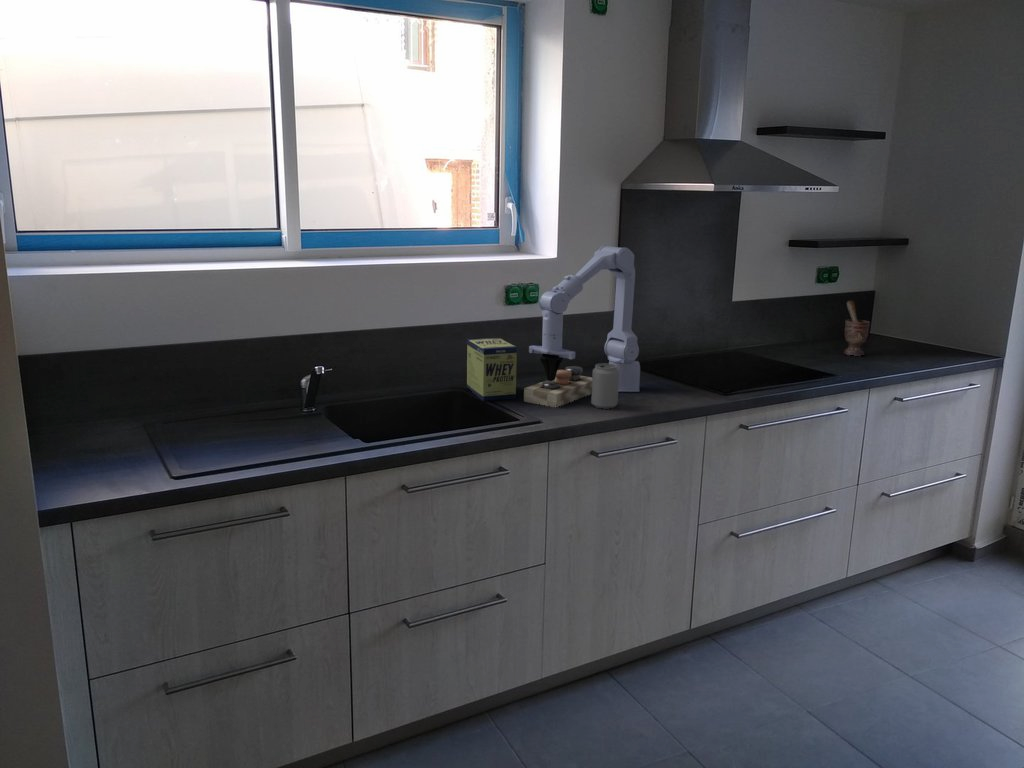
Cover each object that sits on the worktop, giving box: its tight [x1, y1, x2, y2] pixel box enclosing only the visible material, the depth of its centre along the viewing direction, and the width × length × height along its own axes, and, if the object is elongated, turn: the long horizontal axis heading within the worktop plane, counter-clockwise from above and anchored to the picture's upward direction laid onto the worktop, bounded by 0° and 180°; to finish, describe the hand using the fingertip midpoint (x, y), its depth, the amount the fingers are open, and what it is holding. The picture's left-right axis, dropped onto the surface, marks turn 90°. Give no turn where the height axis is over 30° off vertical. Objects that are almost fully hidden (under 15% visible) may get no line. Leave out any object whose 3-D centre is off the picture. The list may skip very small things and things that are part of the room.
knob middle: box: [555, 369, 572, 386], centre depth 244 cm, size 5×5×4 cm
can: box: [590, 362, 619, 410], centre depth 234 cm, size 8×8×12 cm
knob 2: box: [564, 365, 584, 382], centre depth 249 cm, size 5×5×4 cm
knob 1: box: [542, 380, 560, 390], centre depth 239 cm, size 5×5×4 cm
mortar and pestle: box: [843, 300, 871, 357], centre depth 313 cm, size 12×9×20 cm
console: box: [523, 375, 592, 409], centre depth 244 cm, size 24×11×4 cm, turn 145°
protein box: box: [466, 337, 518, 402], centre depth 245 cm, size 10×16×16 cm
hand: (551, 380), depth 238 cm, fingers closed
